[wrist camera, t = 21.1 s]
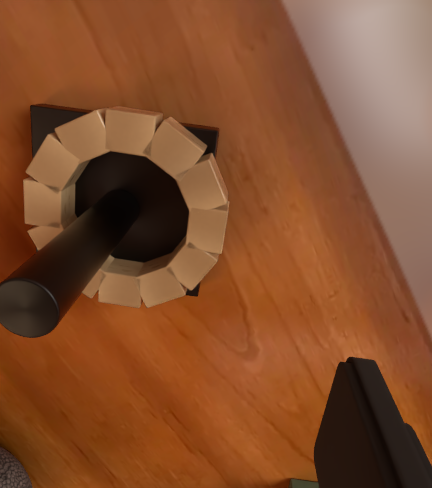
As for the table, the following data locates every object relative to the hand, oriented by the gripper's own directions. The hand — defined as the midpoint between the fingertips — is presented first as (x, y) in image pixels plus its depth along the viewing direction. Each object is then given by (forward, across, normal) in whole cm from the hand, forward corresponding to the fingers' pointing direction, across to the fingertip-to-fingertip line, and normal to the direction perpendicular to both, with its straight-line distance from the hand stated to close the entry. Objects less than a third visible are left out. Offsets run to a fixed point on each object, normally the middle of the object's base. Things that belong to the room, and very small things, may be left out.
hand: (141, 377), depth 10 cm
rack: (+13, +4, 0) cm, 14 cm away
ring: (+12, +3, 0) cm, 13 cm away
